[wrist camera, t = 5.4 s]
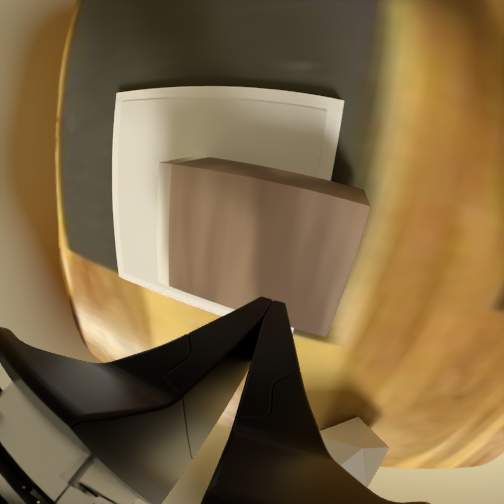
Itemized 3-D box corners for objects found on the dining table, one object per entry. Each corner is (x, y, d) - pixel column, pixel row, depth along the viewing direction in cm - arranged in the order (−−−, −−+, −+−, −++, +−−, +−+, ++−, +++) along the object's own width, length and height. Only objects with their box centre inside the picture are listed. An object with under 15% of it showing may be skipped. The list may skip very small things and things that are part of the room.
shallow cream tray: (344, 102, 13) (344, 100, 12) (293, 331, 20) (290, 338, 19) (123, 93, 17) (115, 92, 16) (124, 273, 24) (118, 277, 23)
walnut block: (370, 206, 10) (158, 162, 12) (325, 336, 13) (158, 281, 16) (363, 189, 14) (197, 155, 16) (331, 296, 17) (190, 255, 19)
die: (335, 447, 26) (375, 496, 17) (274, 457, 23) (309, 521, 14) (363, 399, 25) (417, 448, 16) (299, 406, 22) (352, 476, 13)
